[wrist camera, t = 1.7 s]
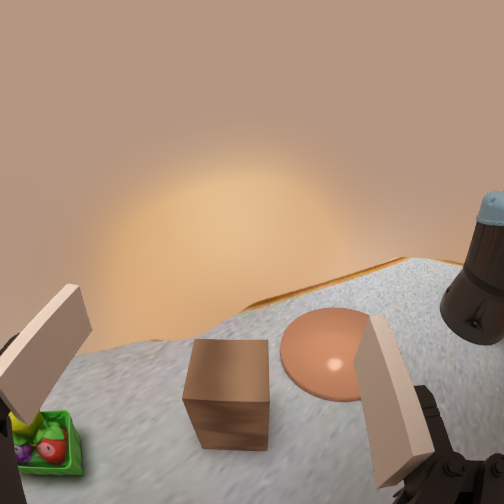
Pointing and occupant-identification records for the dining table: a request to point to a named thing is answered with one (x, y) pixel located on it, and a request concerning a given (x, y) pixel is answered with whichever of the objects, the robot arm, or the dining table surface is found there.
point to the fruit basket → (47, 444)
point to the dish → (324, 352)
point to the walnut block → (229, 394)
